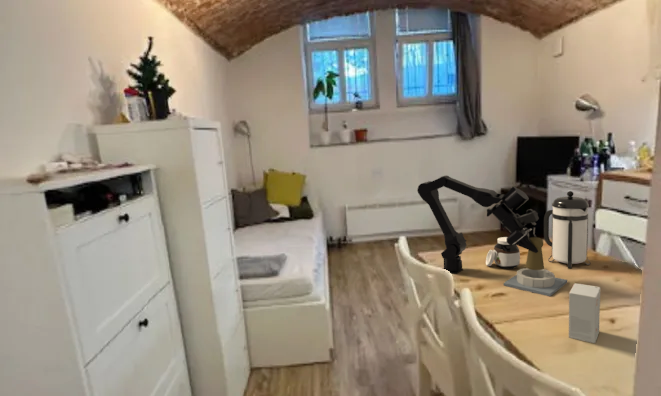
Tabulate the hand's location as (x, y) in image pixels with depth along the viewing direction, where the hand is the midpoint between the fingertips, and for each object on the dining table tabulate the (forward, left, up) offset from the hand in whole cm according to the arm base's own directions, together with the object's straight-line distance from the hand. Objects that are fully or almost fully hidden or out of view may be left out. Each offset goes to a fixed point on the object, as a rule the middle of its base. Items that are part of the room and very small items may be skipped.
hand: (539, 250), depth 143 cm
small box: (+23, -28, -13) cm, 39 cm away
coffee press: (-1, +30, -13) cm, 33 cm away
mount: (-1, 0, -13) cm, 13 cm away
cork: (-1, 0, -7) cm, 7 cm away
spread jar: (-19, +11, -13) cm, 26 cm away
